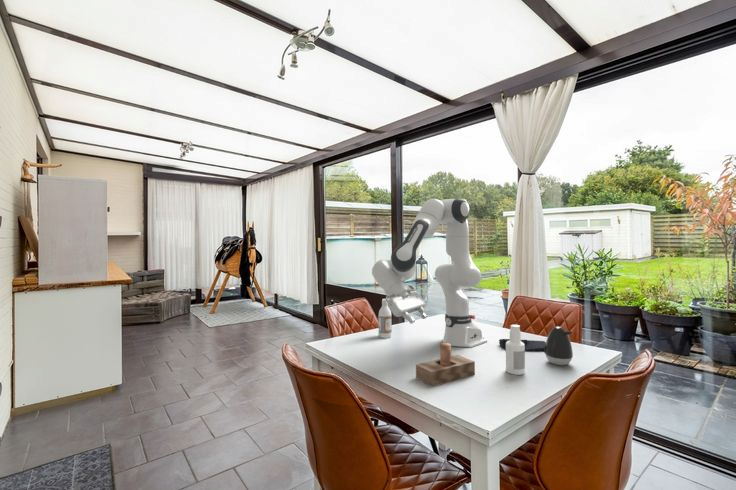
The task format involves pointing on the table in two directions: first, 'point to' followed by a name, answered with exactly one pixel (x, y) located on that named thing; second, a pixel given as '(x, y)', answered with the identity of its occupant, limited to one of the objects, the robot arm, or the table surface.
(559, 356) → the pump dispenser
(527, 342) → the dark slate chunk
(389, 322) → the bath foam
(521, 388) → the table surface
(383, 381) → the table surface
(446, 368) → the socket block
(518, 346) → the white bottle
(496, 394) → the table surface
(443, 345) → the peg
